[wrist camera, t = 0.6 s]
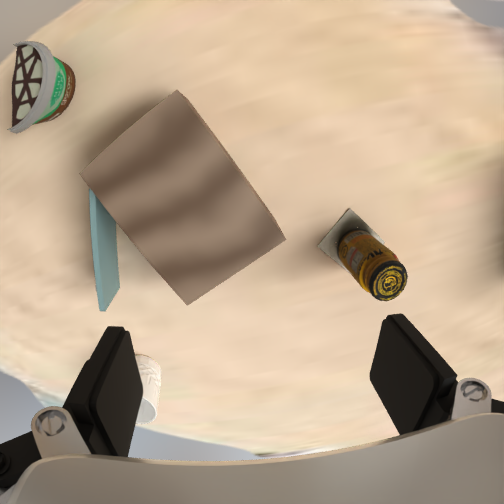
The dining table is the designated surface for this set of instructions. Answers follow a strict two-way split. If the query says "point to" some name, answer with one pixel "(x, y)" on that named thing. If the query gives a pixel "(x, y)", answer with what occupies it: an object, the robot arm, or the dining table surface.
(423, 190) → the dining table surface
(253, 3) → the dining table surface
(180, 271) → the bread box
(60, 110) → the food container
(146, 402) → the white cup
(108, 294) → the door
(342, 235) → the condiment
